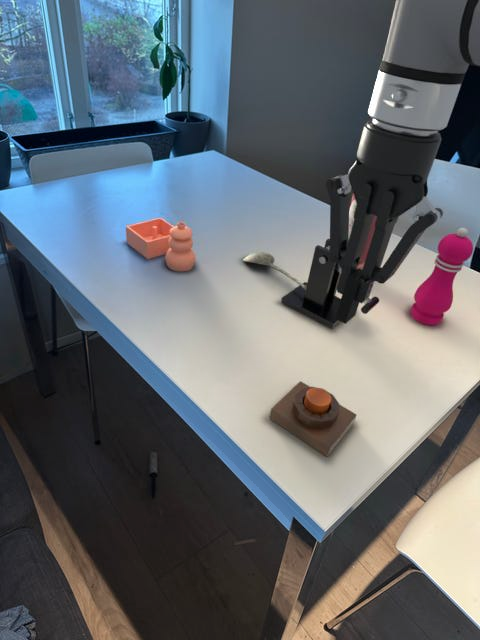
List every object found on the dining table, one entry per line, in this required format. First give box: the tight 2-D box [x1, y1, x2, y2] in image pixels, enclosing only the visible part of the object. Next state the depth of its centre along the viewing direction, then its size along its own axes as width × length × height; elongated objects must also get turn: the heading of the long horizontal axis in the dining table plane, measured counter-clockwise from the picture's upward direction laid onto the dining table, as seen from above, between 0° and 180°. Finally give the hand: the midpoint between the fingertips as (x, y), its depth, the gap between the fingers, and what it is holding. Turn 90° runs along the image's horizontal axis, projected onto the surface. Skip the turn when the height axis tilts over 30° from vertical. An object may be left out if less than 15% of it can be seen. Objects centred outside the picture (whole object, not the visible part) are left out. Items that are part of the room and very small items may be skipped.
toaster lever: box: [326, 246, 380, 315], centre depth 84 cm, size 14×5×2 cm
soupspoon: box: [242, 251, 306, 291], centre depth 97 cm, size 22×3×7 cm
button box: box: [269, 381, 357, 457], centre depth 66 cm, size 10×8×4 cm
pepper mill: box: [409, 227, 474, 326], centre depth 87 cm, size 7×7×20 cm
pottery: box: [125, 217, 196, 272], centre depth 99 cm, size 18×10×10 cm, turn 42°
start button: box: [304, 387, 331, 414], centre depth 64 cm, size 4×4×2 cm
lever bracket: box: [280, 238, 341, 330], centre depth 87 cm, size 12×9×14 cm
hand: (345, 316), depth 58 cm, fingers closed
